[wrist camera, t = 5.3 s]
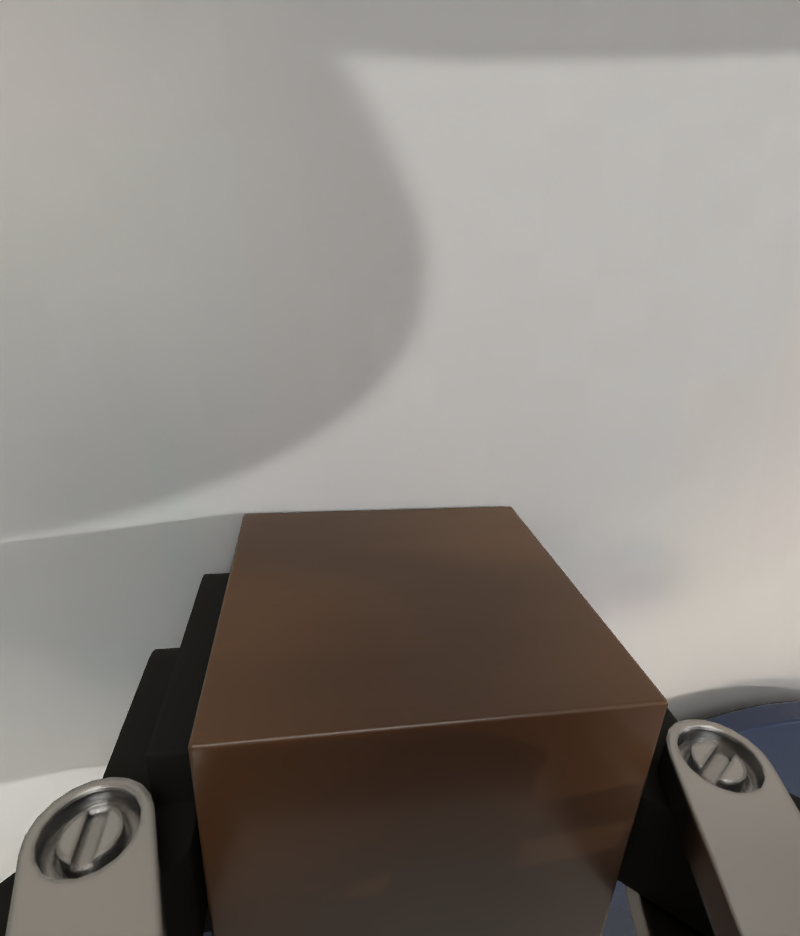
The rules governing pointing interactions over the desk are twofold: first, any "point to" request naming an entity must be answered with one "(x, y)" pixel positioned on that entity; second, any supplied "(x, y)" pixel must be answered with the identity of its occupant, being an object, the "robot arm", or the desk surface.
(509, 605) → the block
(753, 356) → the desk surface
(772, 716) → the tin lid
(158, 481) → the desk surface
